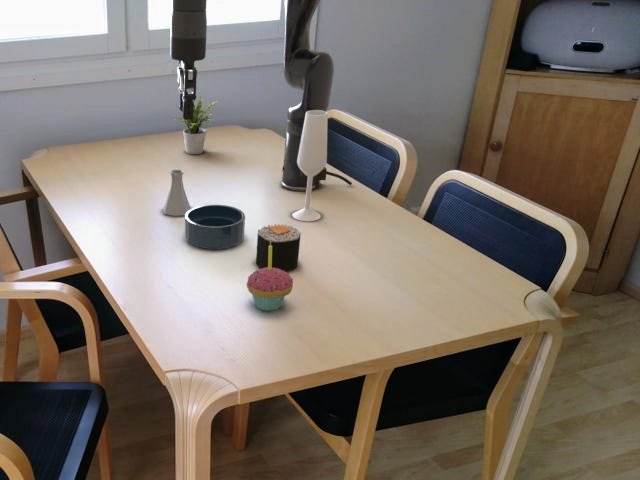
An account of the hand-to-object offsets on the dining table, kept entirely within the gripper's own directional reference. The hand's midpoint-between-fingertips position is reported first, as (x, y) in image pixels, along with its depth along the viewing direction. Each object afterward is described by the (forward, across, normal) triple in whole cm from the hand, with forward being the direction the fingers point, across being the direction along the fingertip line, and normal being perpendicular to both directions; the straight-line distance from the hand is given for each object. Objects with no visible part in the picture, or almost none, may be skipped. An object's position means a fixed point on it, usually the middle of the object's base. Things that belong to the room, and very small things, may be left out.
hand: (186, 114), depth 150 cm
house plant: (+23, +52, -9) cm, 58 cm away
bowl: (+24, -12, -6) cm, 28 cm away
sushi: (+24, -27, -17) cm, 40 cm away
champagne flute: (+24, -1, -30) cm, 38 cm away
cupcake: (+25, -43, -12) cm, 52 cm away
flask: (+24, +5, +1) cm, 25 cm away
